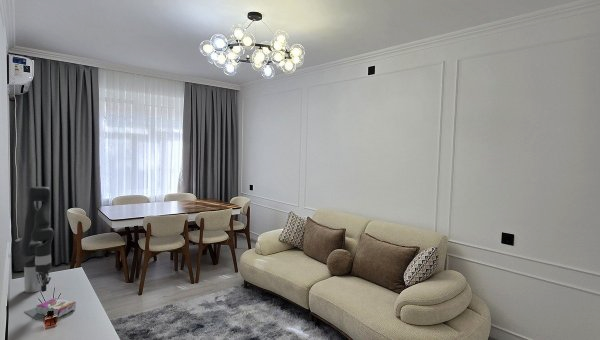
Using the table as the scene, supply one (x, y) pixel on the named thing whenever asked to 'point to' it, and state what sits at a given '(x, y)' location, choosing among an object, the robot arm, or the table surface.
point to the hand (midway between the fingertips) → (43, 291)
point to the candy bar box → (56, 307)
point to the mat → (34, 314)
